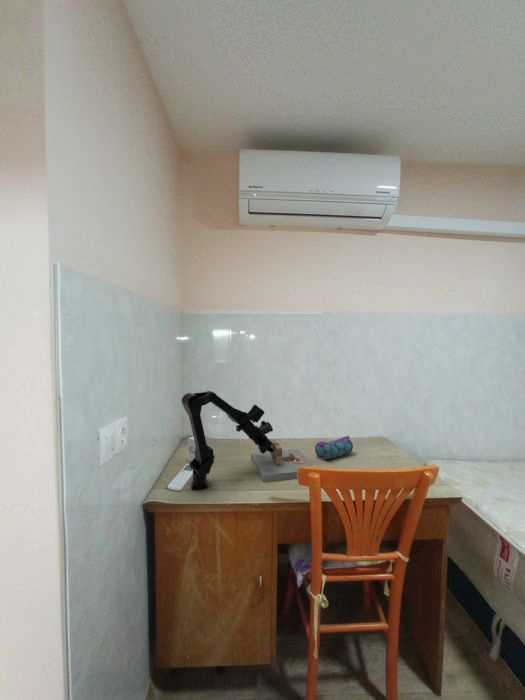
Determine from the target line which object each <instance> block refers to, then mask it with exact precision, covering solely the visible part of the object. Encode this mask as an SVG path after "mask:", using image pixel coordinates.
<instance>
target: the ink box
mask: <svg viewBox="0 0 525 700" xmlns="http://www.w3.org/2000/svg"><path fill="white" fill-rule="evenodd" d="M207 436H208V435H207V434H205V439H206V444H207V443H208V442H207ZM187 440H188V446H187V447H188V448H187V449H188V451H187V452H188V453H187V454H188V456H187V458H188V462H190V463H191V462H192V460H193V459H194V458H195V449H196V445H195V441H194V436H191V437H189V438H188V439H187ZM207 445H208V444H207Z"/></svg>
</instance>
